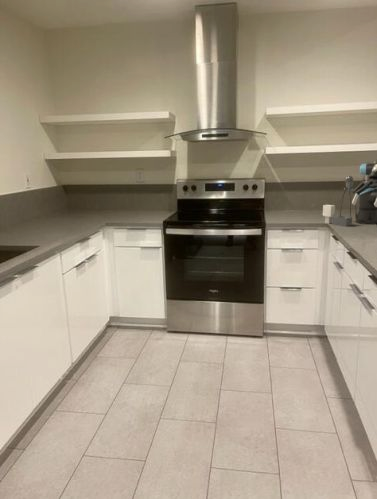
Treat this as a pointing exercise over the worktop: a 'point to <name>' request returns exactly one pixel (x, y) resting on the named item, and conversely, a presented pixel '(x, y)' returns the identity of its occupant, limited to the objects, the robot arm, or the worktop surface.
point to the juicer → (348, 188)
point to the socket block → (341, 220)
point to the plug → (328, 212)
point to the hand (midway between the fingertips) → (363, 205)
